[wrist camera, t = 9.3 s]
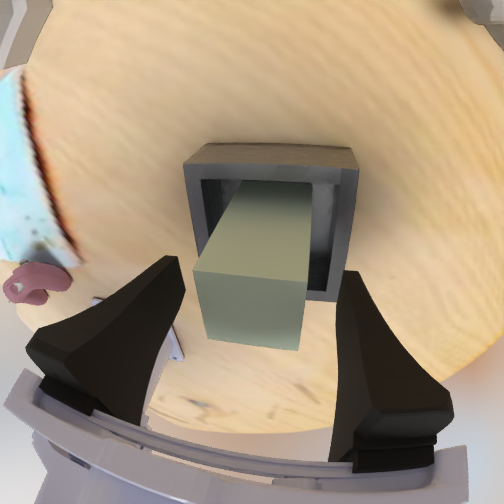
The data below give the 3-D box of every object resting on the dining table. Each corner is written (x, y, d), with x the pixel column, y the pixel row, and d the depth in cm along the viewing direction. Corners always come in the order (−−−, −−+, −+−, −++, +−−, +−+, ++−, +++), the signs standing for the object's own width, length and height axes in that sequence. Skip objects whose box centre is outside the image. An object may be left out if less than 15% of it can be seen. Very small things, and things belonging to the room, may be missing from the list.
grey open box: (220, 255, 21) (205, 289, 18) (206, 143, 16) (182, 163, 13) (336, 265, 19) (337, 302, 17) (350, 148, 15) (359, 169, 12)
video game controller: (63, 245, 27) (8, 259, 20) (76, 285, 27) (22, 305, 20) (37, 270, 31) (-6, 283, 25) (48, 303, 31) (6, 319, 25)
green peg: (245, 238, 19) (207, 338, 13) (242, 180, 17) (192, 270, 10) (307, 243, 18) (298, 351, 12) (312, 184, 16) (307, 282, 10)
